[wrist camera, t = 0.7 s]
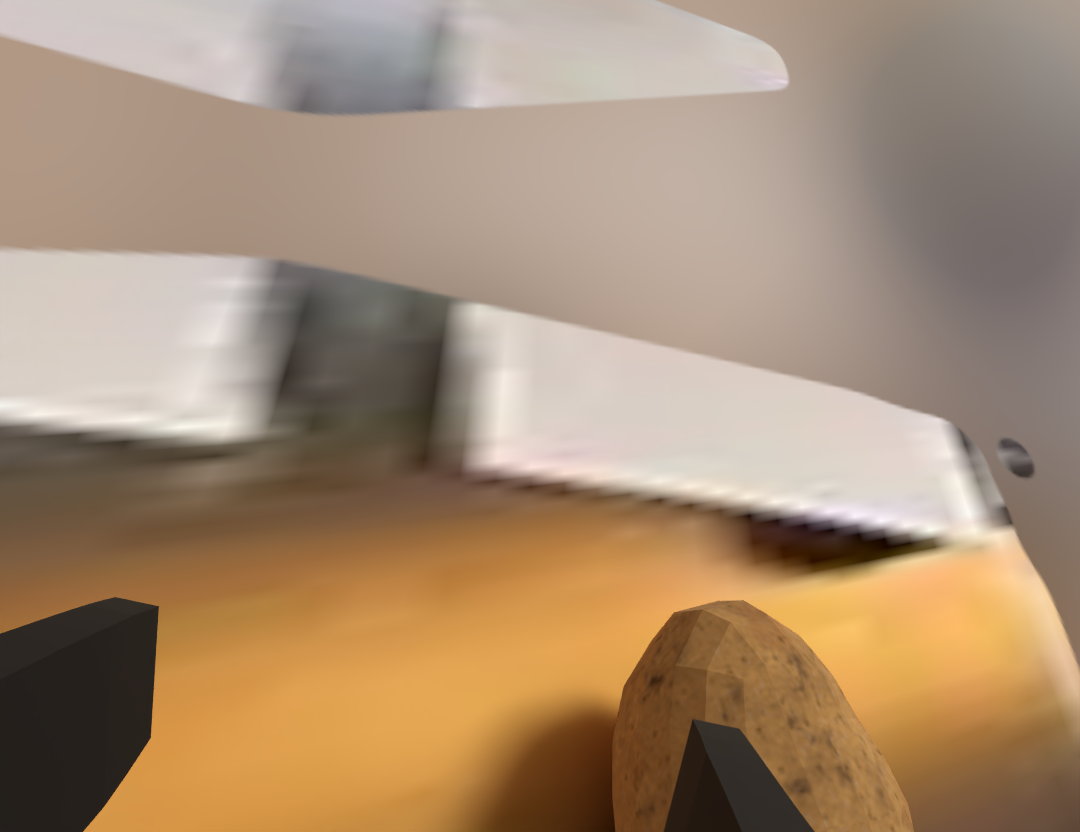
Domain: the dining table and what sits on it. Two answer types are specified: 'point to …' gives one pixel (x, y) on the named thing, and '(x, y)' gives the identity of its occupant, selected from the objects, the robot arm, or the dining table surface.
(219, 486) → the dining table surface
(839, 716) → the potato
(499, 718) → the dining table surface
